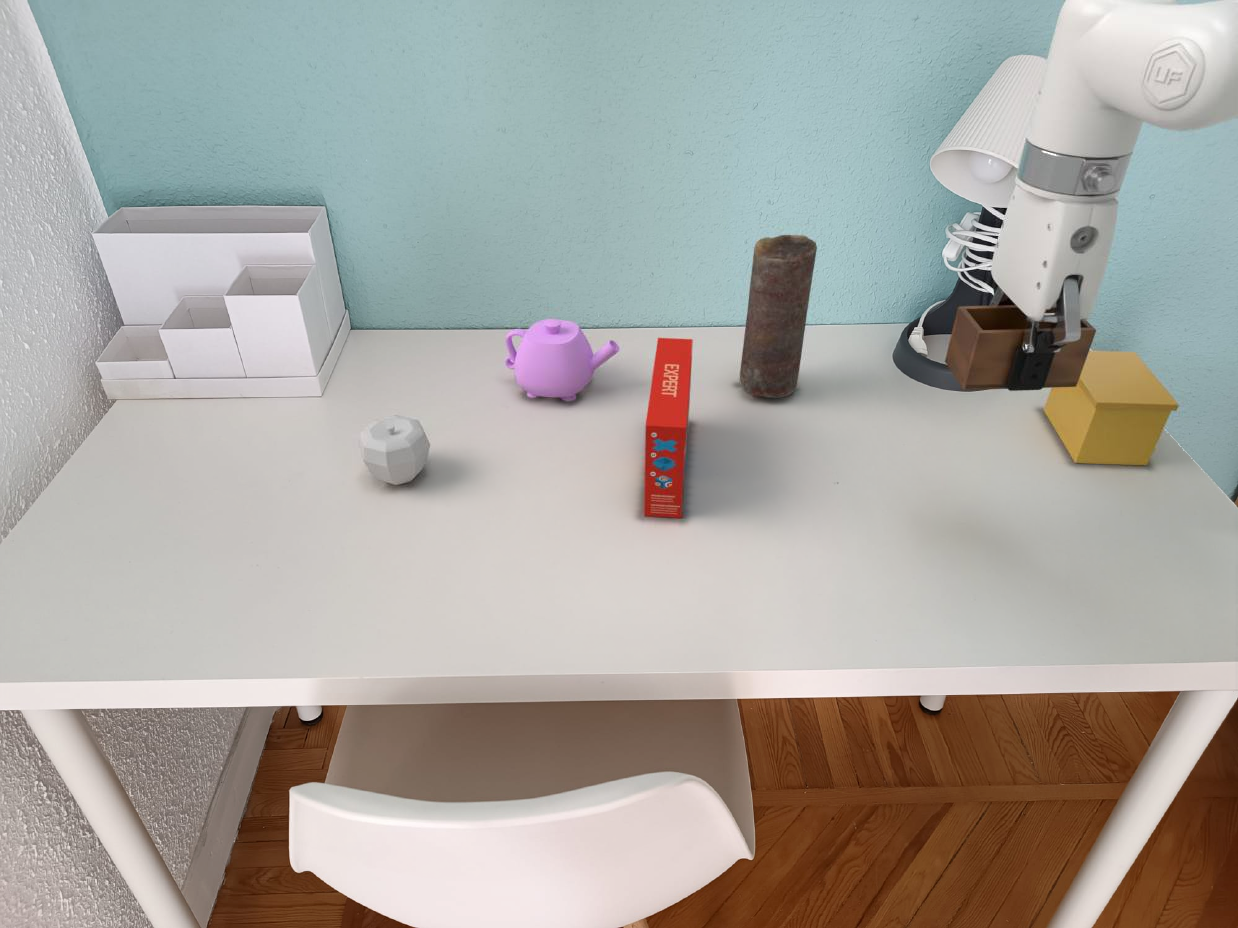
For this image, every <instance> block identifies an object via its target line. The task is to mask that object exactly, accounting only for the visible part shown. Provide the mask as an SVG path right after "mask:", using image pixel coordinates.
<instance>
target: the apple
mask: <svg viewBox="0 0 1238 928" xmlns="http://www.w3.org/2000/svg"><path fill="white" fill-rule="evenodd" d="M357 447H358V450H359V452H360V455H361V459H362V462H363V464H364V465H365V466H366V468H367V470H368V471H369V473H370V475H372V476H373V477H374V478H376V479H377V480H378V481H380V482H383V483H386V484H390V485H395V486H399V485H403V484H406V483H410V482H411V481H413V480H414V479H415V478H416V477H417V475H419V473H420V472H421V471H422V470H423V468H424V466H425V464H426V463H427V461H428V457H429V452H430V449H431V448H430V447H431V442H430V440H429V439H428V436H427V434H426V432H425V430H424V428H423V426H422V424H421V422H420V420H419V419H415V418H411V417H406V416H401V415H397V414H396V415H392V416H387V417H383V418H379V419H375V420H373V421H372V422H371V423H370V424H368V425H367V427H365V428H364V429H363V431H361V432H359V435H358V443H357Z"/></svg>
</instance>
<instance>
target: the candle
mask: <svg viewBox="0 0 1238 928" xmlns="http://www.w3.org/2000/svg"><path fill="white" fill-rule="evenodd" d="M817 250H818V245H817V242H816V241H814V239H811V238H809V237H808V236H806V235H802V234H781V235H778V236H775V237H769V236H768V237H767V236H766V237H763V238H760V239H759V240H758V241H756V242H755V244H754V248H753V255H752V266H751V274H750V281H749V292H748V303H747V312H746V318H745V329H744V336H743V344H742V345H743V346H742V352H741V359H740V361H741V362H740V371H739V383H740V385H741V387H742V389H743V390H744V391H745V392H746V393H747V394H748V395H752V396H755V397H766V398H774V399H775V398H776V399H779V398H783V397H785V396H787V395H790V394H793V393H794V391H795V390H796V389H797V386H798V380H799V375H800V368H801V360H802V355H803V353H802V352H803V346H804V338H805V332H806V323H807V316H808V310H809V304H810V303H809V302H810V296H811V289H812V283H813V277H814V276H813V275H814V269H815V263H816V257H817Z"/></svg>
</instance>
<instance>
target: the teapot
mask: <svg viewBox="0 0 1238 928" xmlns="http://www.w3.org/2000/svg"><path fill="white" fill-rule="evenodd" d="M515 336H518V337H522V340H521V341H520V343H519V346H518V348H517V350H516V348H515V346H514V343H513V337H515ZM505 346H506V349H507V351H508V354H509V355H507V356H506V357H505V360H504V364H505V366H506V367H507V368H508V369H510V370H514V378H515V380H516V382H517V384H518V386H520V387H521V388H522V389H523V390H524V391H526V392H527V394H526V396H527V397H528V398H532V399H536V398H537V399H538V398H541V397H544V398H561V400H562V401H564V402H573V401H575V400H576V399H577V394H578V393H580V392H581V391H582V390H584V388H586V386H587V385H588V384H589V383H590V381H591V380H592V379H593V376H594V374H595V371H596V370H597V369H599V368H600V367H601V366H602V365H603V364H605V363H606V362H607V361H608V360H610V359H611V358H612V357H614V356H615V355H616V354H618V353H619V352H620V350H621V348H620V347H619V344H617V342H615V341H614V340H609V341H608V342H607V343H605V344H604V345H603V346H602V347H601V348H599V349H598V350H597V351H596V352H595V353H594V352H593V349H592V346H591V344H590V342H589V340H588V338H587V336H586V335H585V333H584V332H583V330H582V328H581V327H580V326H579V325H578V324H577V323H576V322H573V321H571V320H564V319H558V318H549V319H542V320H539V321H536V322H534V323H533V324H532V325H531V326H530V327H528V329H527V330H525V329H522V328H514V329H512V330H510V331H509V332H508V333H506V336H505Z"/></svg>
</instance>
